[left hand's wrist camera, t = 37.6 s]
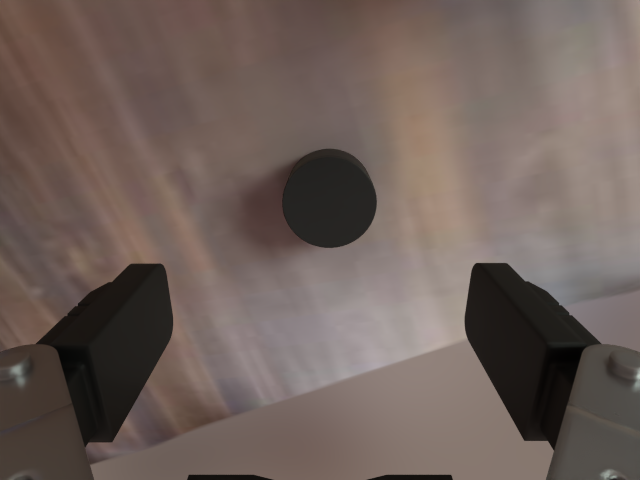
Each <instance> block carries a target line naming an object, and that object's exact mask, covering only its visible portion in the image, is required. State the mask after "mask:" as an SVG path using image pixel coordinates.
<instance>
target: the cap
mask: <svg viewBox="0 0 640 480" xmlns="http://www.w3.org/2000/svg"><path fill="white" fill-rule="evenodd" d="M282 202H283V212H284V216H285V219H286V221H287V223H288V225H289V226H290V228H291V229H292V230H293V232H294V233H295V234H296V235H297V236H298V237H300V238H301V239H302V240H304V241H306V242H307V243H310V244H312V245H315V246H318V247H325V248H334V247H340V246H344V245H347V244H349V243H351V242H353V241H355V240H356V239H358V238H359V237H360V236H361V235H363V234H364V233H365V231H366V230H367V229H368V228H369V226H370V225H371V223H372V221H373V218H374V215H375V212H376V204H377V200H376V193H375V189H374V186H373V184H372V181H371V179H370V177H369V175H368V173H367V171H366V169H365V167H364V166H363V165H362V163H361V162H360V161H359V160H358V159H356V158H355V157H354V156H352V155H351V154H349V153H346V152H344V151H341V150H336V149H322V150H318V151H315V152H312V153H310V154H308V155H306V156H305V157H304V158H302V159H301V160H300V161H299V162H298V163H297V164H296V165H295V167H294V168H293V170H292V172H291V174H290V176H289V179H288V181H287V184H286V186H285V189H284V193H283V200H282Z"/></svg>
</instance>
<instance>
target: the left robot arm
mask: <svg viewBox="0 0 640 480" xmlns="http://www.w3.org/2000/svg"><path fill="white" fill-rule="evenodd" d="M172 330H173V314H172V308H171V301H170V294H169V288H168V281H167V275H166V270H165V268H164V266H163V265H162V264H130V265H129V266H128V267H127V268H126V269H125V270H124V271H123V272H122V273H121V274H120V275H119V276H118V277H117V278H116V279H115V280H114V281H113V282H108V283H107V284H105V285H103V286H101V287H99V288H97V289H95V290H93V291H92V292H90V293H89V294H88V295H87V296H86V297H85V298H84V299H83V300H82V301H80V302H79V303H78V306H75V307H74V308H73V309H72V310H71V311H70V312H69V313H68V316H65V317H64V318H63V319H62V320H60V321H59V322H58V323H57V324H56V325H55V326H54V327H53V328H52V329H51V330H50V331H49V332H48V333H47V334H46V335H45V336H44V337H43V338H41V339H40V340H39V341H38V342H37V343H36V344H31V345H24V346H19V347H15V348H11V349H8V350H5V351H2V352H0V480H94V478H93V474H92V471H91V467H90V464H89V460H88V457H87V453H86V450H85V447H86V445H87V444H88V442H113V440H114V438H115V436H116V435H117V433H118V431H119V429H120V428H121V426H122V424H123V422H124V420H125V419H126V417H127V415H128V413H129V412H130V410H131V408H132V406H133V405H134V403H135V401H136V399H137V397H138V396H139V394H140V392H141V390H142V389H143V387H144V385H145V383H146V381H147V380H148V378H149V376H150V374H151V373H152V371H153V369H154V367H155V366H156V364H157V362H158V360H159V358H160V357H161V355H162V353H163V351H164V350H165V348H166V346H167V344H168V343H169V341H170V338H171V335H172ZM465 331H466V335H467V338H468V340H469V342H470V344H471V346H472V348H473V349H474V351H475V353H476V355H477V357H478V358H479V360H480V362H481V364H482V365H483V367H484V369H485V371H486V373H487V374H488V376H489V378H490V380H491V382H492V383H493V385H494V387H495V389H496V391H497V392H498V394H499V396H500V398H501V400H502V401H503V403H504V405H505V407H506V409H507V410H508V412H509V414H510V416H511V418H512V419H513V421H514V423H515V425H516V426H517V428H518V430H519V432H520V434H521V435H522V437H523V439H524V441H548V442H549V443H550V445H551V447H552V448H553V450H554V453H553V457H552V460H551V464H550V467H549V471H548V474H547V478H546V480H640V352H638V351H635V350H632V349H629V348H625V347H621V346H616V345H609V344H601V343H600V342H599V341H598V340H597V339H596V338H595V337H594V336H593V335H592V334H591V333H590V332H589V331H588V330H587V329H586V328H584V327H583V326H582V325H581V324H580V323H579V322H578V321H577V320H576V319H575V318H574V317H573V316H572V315H569V312H568V311H567V310H566V309H565V308H564V307H563V306H562V305H559V303H558V302H557V301H556V300H555V299H554V298H553V297H552V296H551V295H550V294H549V293H548V292H547V291H545V290H543V289H541V288H540V287H538V286H536V285H534V284H532V283H530V282H525V281H524V280H523V279H522V278H521V277H520V276H519V275H518V274H517V273H516V272H515V271H514V270H513V269H512V268H511V267H510V266H509V265H508V264H507V263H476V264H475V265H474V266H473V268H472V272H471V278H470V285H469V292H468V298H467V305H466V312H465ZM187 480H272V479H268V478H264V477H260V476H256V475H189V476H188V479H187ZM368 480H453V479H452V476H451V475H384V476H380V477H376V478H372V479H368Z"/></svg>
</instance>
